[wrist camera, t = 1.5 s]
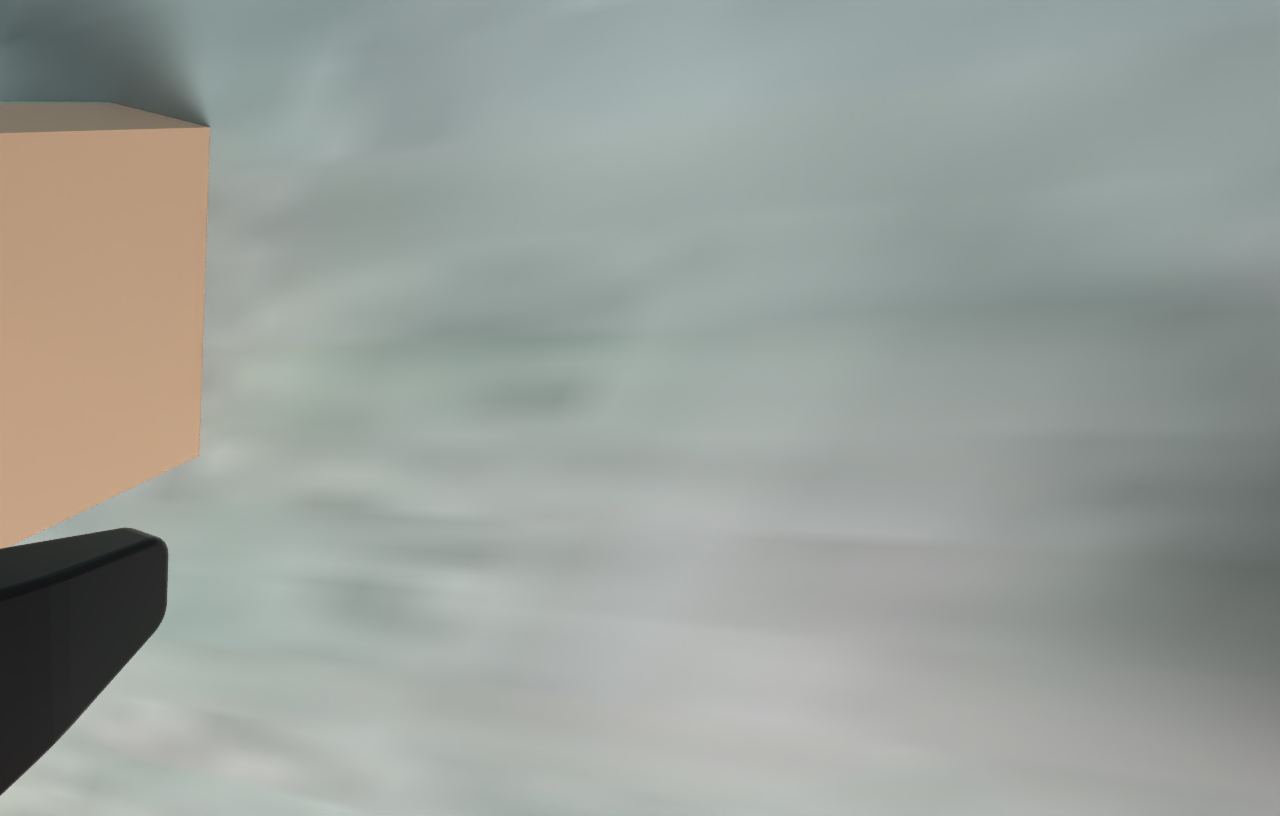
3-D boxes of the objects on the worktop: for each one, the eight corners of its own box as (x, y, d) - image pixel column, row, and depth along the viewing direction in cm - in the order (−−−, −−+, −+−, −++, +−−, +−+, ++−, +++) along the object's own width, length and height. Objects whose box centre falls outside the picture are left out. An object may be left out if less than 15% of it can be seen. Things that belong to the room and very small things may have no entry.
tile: (211, 127, 23) (-115, 136, 16) (199, 455, 27) (-77, 587, 19) (110, 102, 24) (-249, 99, 17) (111, 425, 27) (-191, 543, 20)
